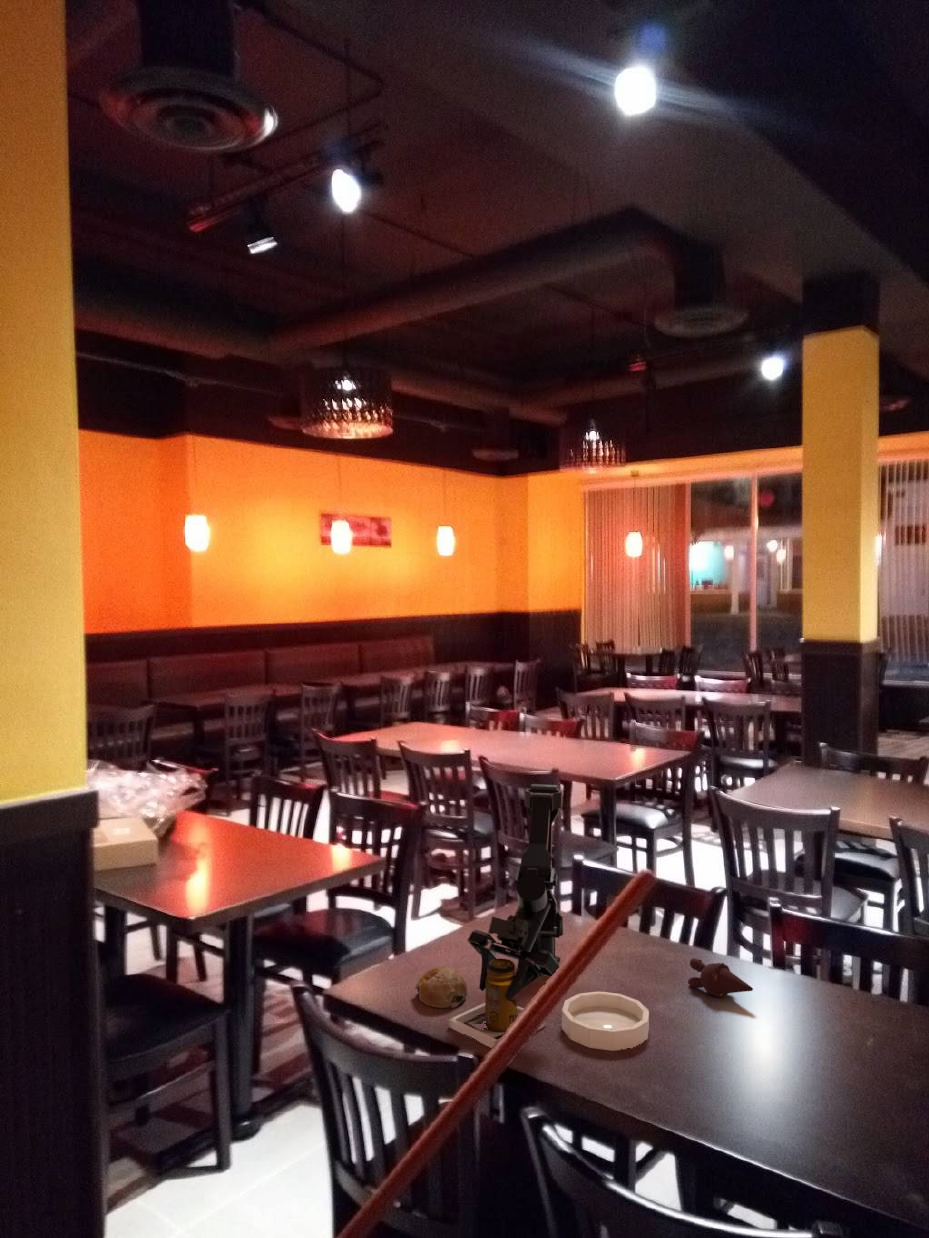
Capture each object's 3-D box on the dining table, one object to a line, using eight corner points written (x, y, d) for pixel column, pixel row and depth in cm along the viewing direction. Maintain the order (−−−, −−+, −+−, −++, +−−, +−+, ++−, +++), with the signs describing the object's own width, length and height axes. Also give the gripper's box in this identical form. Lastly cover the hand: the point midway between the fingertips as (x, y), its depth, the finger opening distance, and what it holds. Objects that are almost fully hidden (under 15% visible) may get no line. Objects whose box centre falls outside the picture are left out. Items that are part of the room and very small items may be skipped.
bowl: (595, 1001, 181) (596, 984, 181) (664, 1028, 170) (664, 1010, 170) (545, 1028, 170) (546, 1010, 170) (616, 1059, 158) (616, 1039, 158)
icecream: (763, 970, 182) (700, 954, 193) (743, 970, 177) (680, 954, 188) (761, 1006, 180) (697, 988, 192) (741, 1007, 176) (677, 989, 187)
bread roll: (437, 1029, 176) (451, 998, 174) (402, 994, 182) (415, 964, 180) (467, 1011, 184) (481, 981, 182) (433, 978, 190) (445, 948, 188)
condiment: (526, 1027, 170) (526, 965, 169) (489, 1039, 165) (489, 975, 165) (503, 1013, 176) (503, 952, 176) (467, 1024, 171) (467, 962, 171)
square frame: (497, 1004, 180) (497, 996, 179) (545, 1025, 171) (545, 1017, 171) (448, 1027, 170) (448, 1019, 170) (497, 1051, 161) (497, 1042, 161)
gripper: (473, 889, 179) (437, 961, 170) (551, 910, 167) (516, 988, 158) (497, 917, 185) (463, 988, 176) (573, 939, 173) (541, 1016, 165)
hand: (493, 994), depth 169 cm, fingers closed on condiment, 6 cm apart
